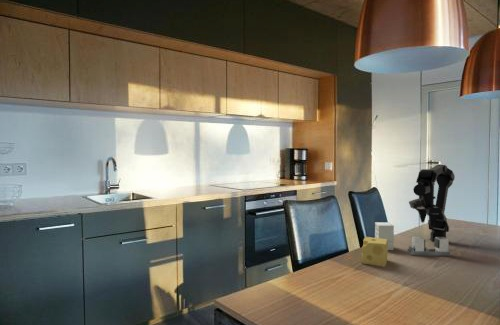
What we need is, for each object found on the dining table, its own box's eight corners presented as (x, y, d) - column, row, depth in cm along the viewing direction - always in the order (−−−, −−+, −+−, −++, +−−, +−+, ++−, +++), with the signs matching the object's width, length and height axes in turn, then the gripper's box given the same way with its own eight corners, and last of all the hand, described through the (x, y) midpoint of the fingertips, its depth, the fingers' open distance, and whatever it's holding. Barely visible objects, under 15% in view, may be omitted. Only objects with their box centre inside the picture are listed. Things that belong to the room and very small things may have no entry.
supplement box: (389, 246, 171) (389, 222, 171) (393, 250, 164) (394, 225, 163) (374, 245, 172) (374, 221, 171) (378, 250, 165) (378, 225, 164)
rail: (445, 253, 159) (446, 236, 159) (450, 255, 155) (450, 239, 155) (407, 252, 160) (407, 236, 160) (411, 255, 156) (411, 238, 156)
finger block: (421, 248, 160) (421, 236, 160) (425, 251, 156) (425, 238, 156) (411, 248, 160) (412, 236, 160) (415, 251, 156) (415, 238, 156)
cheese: (360, 263, 145) (361, 241, 145) (364, 256, 155) (365, 235, 154) (386, 267, 140) (386, 244, 140) (388, 260, 150) (388, 238, 150)
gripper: (403, 191, 177) (403, 220, 178) (419, 196, 159) (418, 228, 159) (425, 191, 177) (424, 220, 177) (443, 196, 158) (442, 228, 159)
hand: (426, 224), depth 168 cm, fingers open, 9 cm apart
